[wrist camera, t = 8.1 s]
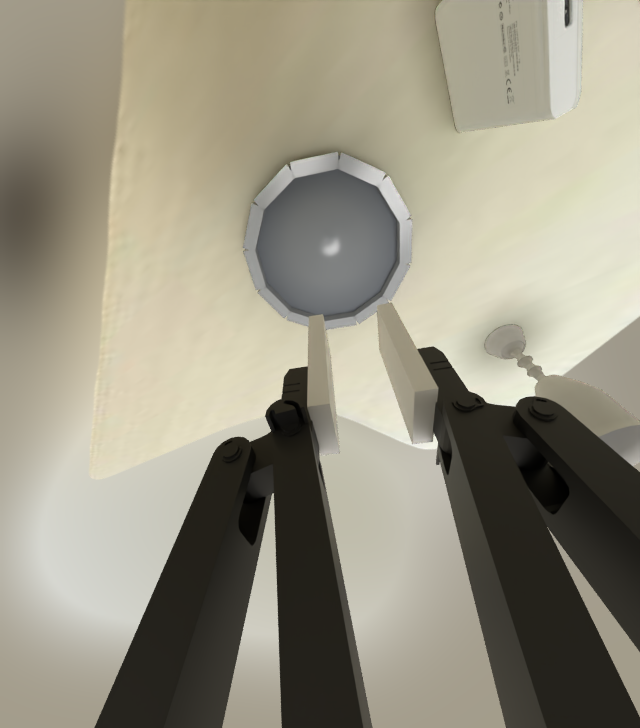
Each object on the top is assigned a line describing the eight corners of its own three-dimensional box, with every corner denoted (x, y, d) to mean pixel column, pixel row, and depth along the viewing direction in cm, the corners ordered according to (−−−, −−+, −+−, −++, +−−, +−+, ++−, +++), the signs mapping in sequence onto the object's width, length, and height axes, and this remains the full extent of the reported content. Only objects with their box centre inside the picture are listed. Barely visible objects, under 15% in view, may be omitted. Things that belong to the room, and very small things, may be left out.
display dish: (226, 175, 27) (219, 177, 25) (406, 136, 25) (414, 135, 23) (273, 328, 37) (271, 338, 35) (404, 307, 35) (410, 316, 33)
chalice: (526, 355, 40) (644, 468, 26) (476, 366, 41) (563, 481, 27) (534, 311, 36) (681, 416, 22) (479, 324, 37) (583, 433, 23)
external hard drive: (455, -7, 20) (588, -158, 10) (475, 123, 25) (582, 104, 15) (432, 9, 21) (540, -120, 11) (456, 134, 25) (548, 123, 15)
